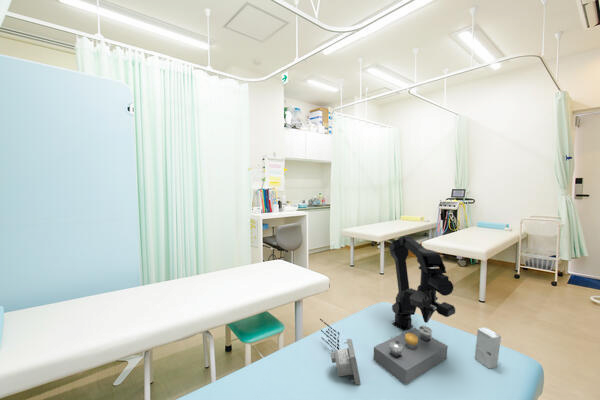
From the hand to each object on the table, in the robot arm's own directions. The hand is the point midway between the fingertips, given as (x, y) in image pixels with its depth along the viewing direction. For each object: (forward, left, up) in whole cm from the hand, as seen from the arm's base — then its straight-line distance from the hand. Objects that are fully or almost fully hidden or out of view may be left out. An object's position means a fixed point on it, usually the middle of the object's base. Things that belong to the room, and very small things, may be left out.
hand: (426, 322), depth 102 cm
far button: (0, 0, -8) cm, 8 cm away
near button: (0, -18, -8) cm, 20 cm away
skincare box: (+16, +14, -12) cm, 25 cm away
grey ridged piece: (-14, -34, -12) cm, 38 cm away
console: (0, -9, -12) cm, 15 cm away
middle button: (0, -9, -8) cm, 12 cm away
